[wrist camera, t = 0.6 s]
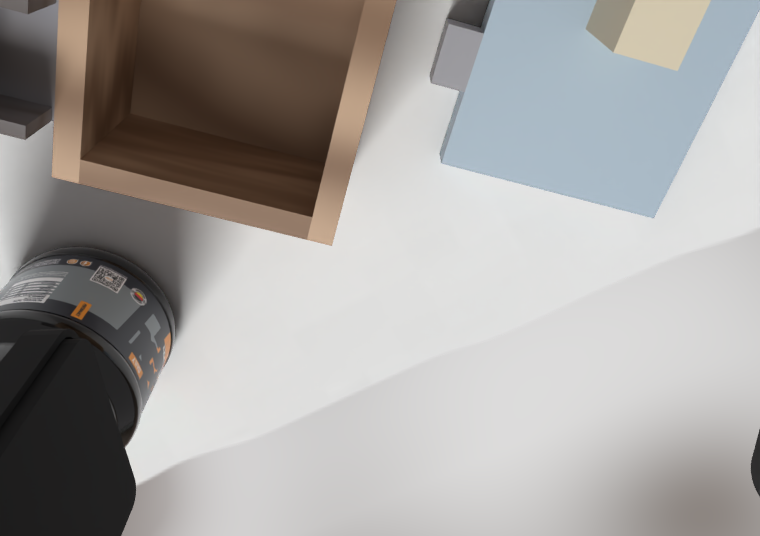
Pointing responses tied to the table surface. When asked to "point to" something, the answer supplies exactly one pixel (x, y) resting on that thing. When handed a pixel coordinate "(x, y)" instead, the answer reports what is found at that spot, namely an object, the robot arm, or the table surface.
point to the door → (587, 92)
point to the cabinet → (199, 100)
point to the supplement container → (96, 319)
